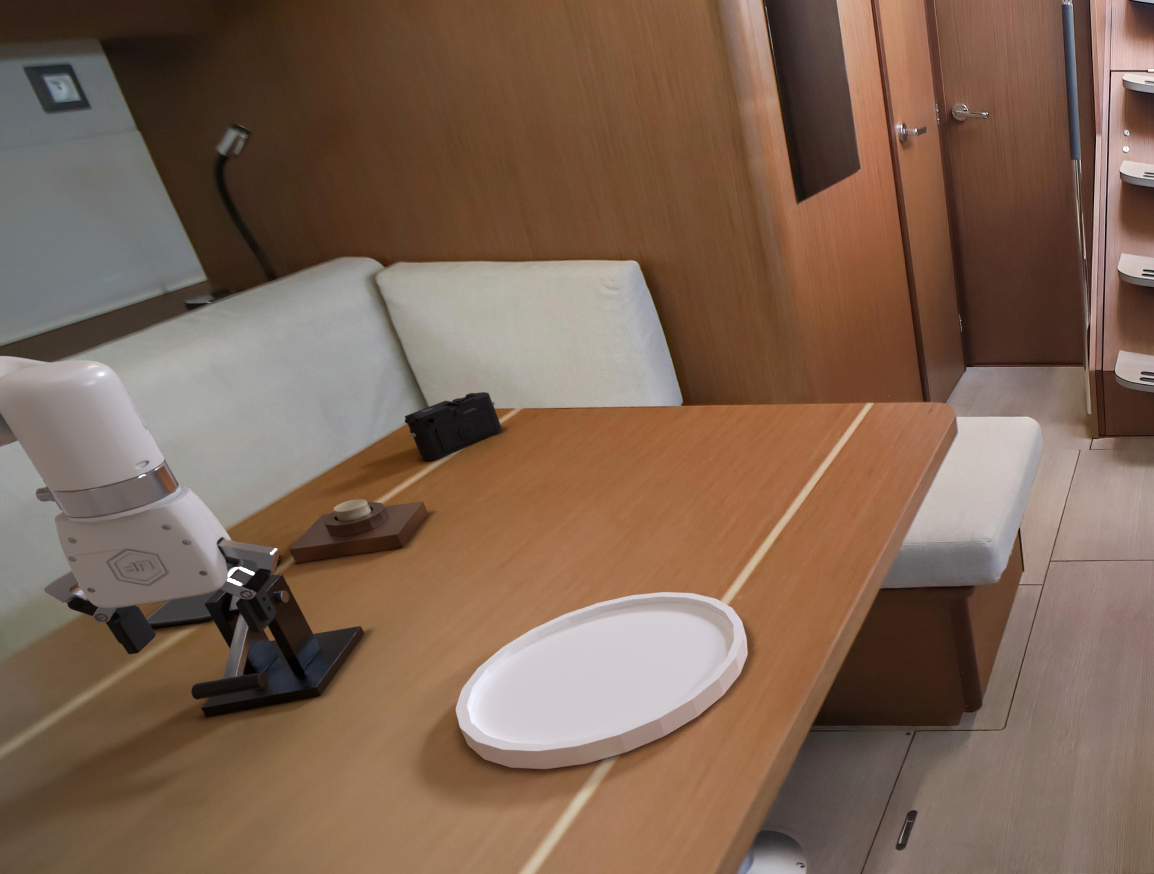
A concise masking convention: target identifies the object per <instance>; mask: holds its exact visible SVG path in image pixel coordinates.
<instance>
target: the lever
mask: <svg viewBox="0 0 1154 874" xmlns="http://www.w3.org/2000/svg"><path fill="white" fill-rule="evenodd" d="M239 599H240V598H239V597H237V596H235V595H233V597H232V601H231V604H230V608H229V611H231V612H233V613H234V614H236V615H237V616H238V620H237V624H236V628H235V632H234V636H233V640H232V644H231V648H229V652H228V657H227V660H226V665H225V668H224V671H223V676H222V678H219V679H215V680H209V681H203V682H197V683H195V684H193V685H192V687H191V696H192V698H193V699H195V700H198V701H199V700H203V699H209V698H210V697H215V696H221V695H226V694H232V693H238V692H243V691H249V690H254V689H260V688H265V687H266V686H267V685H268V676H267V674H266V673H264V672H260V673H254V674H249V675H243V671H244V667H245V663H246V659H247V655H248V651H249V647H250V642H251V638H252V634H253V632H251V630H250V629H249V627H248V625H247V623H246V622H245V620H244V618H243V616H242V615H241V613H240V611H239V609H238V608H237V606H236V602H237V601H238V600H239ZM242 675H243V676H242Z"/></svg>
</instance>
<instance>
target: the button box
mask: <svg viewBox="0 0 1154 874" xmlns="http://www.w3.org/2000/svg"><path fill="white" fill-rule="evenodd" d="M367 503H368V505H369V507H370V509H371V513H369V514H367V515H365V516H363V517H361V518H357V519H354V520H347V521H339V520H338V519H337V517H336V514H335V512H334V511H332V512H330V513H325V514H321V515H320V516H319V517H318V518H317V520H315V522H313V524H312V525H311V526H310V527H309V528H308V529H307V530H306V531H305V532H304V533H303V534H302V535H301V536H300V538H298V540H296V542H295V543H294V544H293V545H292V546H291V547H290V548H289V549H288V551H289V552H290V555H291V557H292V559H293V560H294V563H296V564H299V563H305V562H312V561H319V560H326V559H332V558H341V557H346V556H353V555H360V554H367V553H373V552H382V551H387V550H394V549H395V550H396V549H402V548H404V547H405V545H406V544H407V543H408V542H409V540H410V539H411V537H412V536H413V535H414V534H415V532H416V531H417V530H418V528H419V527H420V525H421V524H422V523H423V522H424V520H425V519H426V517H428V515H429V511H428V510H427V507H426V505H425V503H424V501H421V500H420V501H415V502H407V503H402V504H401V503H399V504H393V505H384V504H383V503H382V502H377V501H376V502H375V501H367Z"/></svg>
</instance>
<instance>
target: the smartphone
mask: <svg viewBox="0 0 1154 874" xmlns="http://www.w3.org/2000/svg"><path fill="white" fill-rule="evenodd" d="M281 559H282V556H281V553H279V558H278V562H279V561H280V560H281ZM242 562H243V565H242V567H243V568H245V569H248V570H250V571H252V572H255V571H256V564H255V563H254V562H253V561H248V560H242ZM230 578H231V577H230ZM231 579H233V578H231ZM233 580H236V579H233ZM236 581H238V580H236ZM238 582H240V581H238ZM240 583H243V582H240ZM243 584H245V583H243ZM245 585H246V584H245ZM218 590H219V589H218ZM218 590H216V591H214V592H211V593H207V594H203V595H197V596H191V597H185V598H179V599H173V600H167V601H165V603H163V604H162V605H161V606H160V607H158V608H157V609H156V610H154V612H152V614H150V615H149V616H148V617H147V618H146V620H147V621H148V623H149V624H150V626H151V628H158V627H167V626H176V625H183V624H184V625H185V624H192V623H201V622H207V621H210V620H213V619H212V617H211V615H210V613H209V612H208V610H207V608H206V606H205V605H204V604H205V603H206V602H207V601H208V600H209V599H210V598H211V597H212V596H213V595H214V594H215V593H216V592H217V591H218Z"/></svg>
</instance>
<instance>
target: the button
mask: <svg viewBox="0 0 1154 874" xmlns="http://www.w3.org/2000/svg"><path fill="white" fill-rule="evenodd" d="M367 502H368V501H367V500H366V499H365V498H364V499H362V498H356V499H351V500H350V499H349V500H347V501H343V502H341V503H339V504H337V505H336V506H334V507H333V509H332V510H333V512H335V514H336V517H337V519H338V520H339V521H347V520H354V519H357V518H361V517H363V516H365V515H367V514H369V513H371V509H370V507H369V505H368V503H367Z"/></svg>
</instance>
